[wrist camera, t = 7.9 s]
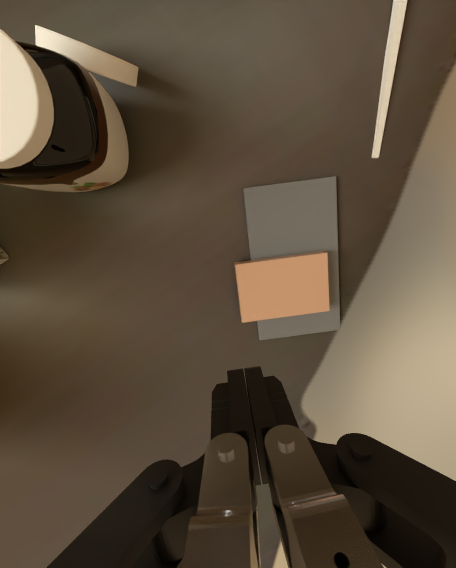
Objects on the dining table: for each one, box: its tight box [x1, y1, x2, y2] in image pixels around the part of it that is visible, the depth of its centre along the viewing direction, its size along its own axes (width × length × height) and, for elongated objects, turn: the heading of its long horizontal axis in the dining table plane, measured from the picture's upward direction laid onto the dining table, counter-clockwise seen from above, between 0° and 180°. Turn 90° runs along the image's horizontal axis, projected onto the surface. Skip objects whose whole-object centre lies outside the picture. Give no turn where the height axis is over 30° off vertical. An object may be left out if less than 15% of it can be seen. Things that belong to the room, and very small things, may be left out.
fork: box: [372, 0, 407, 158], centre depth 23 cm, size 3×20×2 cm, turn 178°
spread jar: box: [0, 25, 138, 192], centre depth 19 cm, size 12×11×12 cm
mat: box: [243, 176, 340, 340], centre depth 28 cm, size 16×9×1 cm, turn 7°
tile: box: [234, 251, 330, 323], centre depth 27 cm, size 6×2×9 cm
